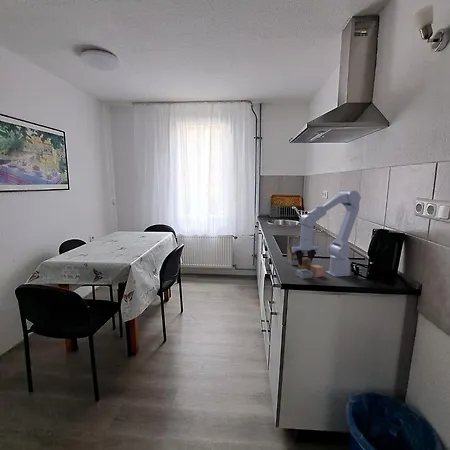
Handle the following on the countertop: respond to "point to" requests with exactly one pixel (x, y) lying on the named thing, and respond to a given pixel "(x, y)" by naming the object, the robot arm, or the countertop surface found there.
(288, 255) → the coffee box
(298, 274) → the plinth block
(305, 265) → the walnut block
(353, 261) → the countertop surface
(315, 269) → the terracotta block
